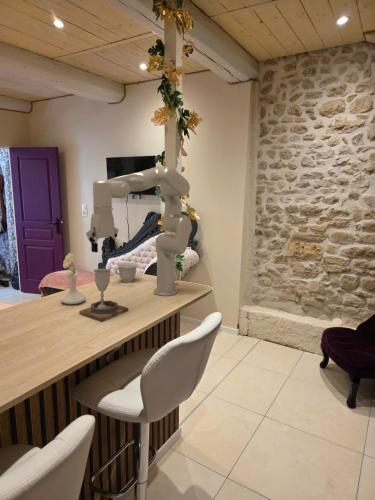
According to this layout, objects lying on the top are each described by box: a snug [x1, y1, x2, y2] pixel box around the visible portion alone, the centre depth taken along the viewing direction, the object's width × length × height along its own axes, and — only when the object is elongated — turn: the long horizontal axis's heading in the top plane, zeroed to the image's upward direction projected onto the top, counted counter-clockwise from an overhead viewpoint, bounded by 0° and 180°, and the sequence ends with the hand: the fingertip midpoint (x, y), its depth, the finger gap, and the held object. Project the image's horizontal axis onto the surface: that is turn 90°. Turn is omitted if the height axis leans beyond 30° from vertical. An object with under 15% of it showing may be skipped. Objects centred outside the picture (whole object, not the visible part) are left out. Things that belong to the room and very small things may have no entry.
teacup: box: [114, 262, 139, 283], centre depth 197 cm, size 12×15×10 cm
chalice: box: [93, 268, 112, 309], centre depth 146 cm, size 7×7×18 cm
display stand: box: [78, 300, 129, 323], centre depth 148 cm, size 16×14×4 cm
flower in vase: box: [60, 252, 87, 305], centre depth 158 cm, size 13×11×25 cm
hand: (103, 250), depth 143 cm, fingers open, 9 cm apart
